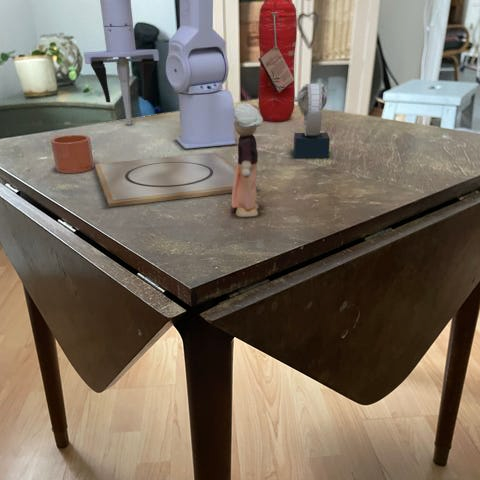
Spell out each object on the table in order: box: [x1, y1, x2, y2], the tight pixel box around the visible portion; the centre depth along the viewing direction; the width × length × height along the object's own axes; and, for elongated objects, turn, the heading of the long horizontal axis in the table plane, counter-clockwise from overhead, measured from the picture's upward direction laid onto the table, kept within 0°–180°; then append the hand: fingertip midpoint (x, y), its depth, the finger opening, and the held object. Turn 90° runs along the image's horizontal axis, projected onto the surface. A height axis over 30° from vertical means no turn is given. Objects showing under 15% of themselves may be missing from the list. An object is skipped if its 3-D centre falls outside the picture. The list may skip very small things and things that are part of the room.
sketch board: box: [94, 152, 236, 208], centre depth 80 cm, size 20×20×1 cm
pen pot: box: [50, 134, 95, 174], centre depth 85 cm, size 6×6×4 cm
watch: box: [293, 83, 331, 159], centre depth 88 cm, size 6×8×11 cm
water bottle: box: [257, 0, 298, 123], centre depth 109 cm, size 12×8×25 cm, turn 168°
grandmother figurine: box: [230, 102, 264, 218], centre depth 64 cm, size 8×4×13 cm, turn 5°
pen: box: [115, 57, 133, 126], centre depth 111 cm, size 2×3×14 cm
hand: (127, 100), depth 112 cm, fingers open, 7 cm apart
